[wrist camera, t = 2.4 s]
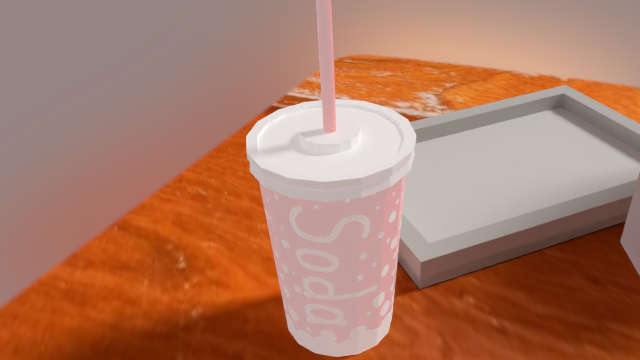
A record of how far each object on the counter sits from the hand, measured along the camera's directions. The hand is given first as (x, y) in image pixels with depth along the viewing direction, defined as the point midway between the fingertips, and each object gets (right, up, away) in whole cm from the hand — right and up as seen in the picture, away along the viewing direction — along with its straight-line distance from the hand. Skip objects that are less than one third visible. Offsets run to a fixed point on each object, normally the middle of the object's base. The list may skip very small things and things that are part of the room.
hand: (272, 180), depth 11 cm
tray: (+12, 0, +24) cm, 27 cm away
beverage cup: (+2, -6, +16) cm, 17 cm away
